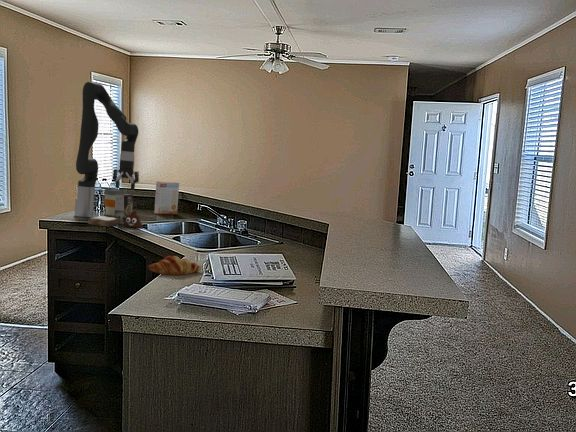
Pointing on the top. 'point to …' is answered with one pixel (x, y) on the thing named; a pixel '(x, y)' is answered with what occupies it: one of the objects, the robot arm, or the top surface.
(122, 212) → the coffee box
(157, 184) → the cracker box
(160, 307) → the top surface
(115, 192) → the reusable coffee cup
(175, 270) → the croissant
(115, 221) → the square wooden picture frame
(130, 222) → the poop emoji
